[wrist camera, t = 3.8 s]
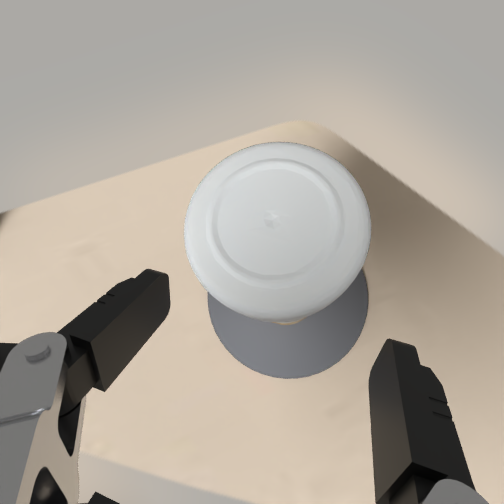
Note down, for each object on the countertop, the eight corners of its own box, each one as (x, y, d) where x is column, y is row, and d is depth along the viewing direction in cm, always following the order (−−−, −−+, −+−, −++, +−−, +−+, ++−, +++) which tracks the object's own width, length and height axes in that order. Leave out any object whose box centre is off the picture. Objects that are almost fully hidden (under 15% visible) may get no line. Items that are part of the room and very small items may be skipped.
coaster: (187, 348, 19) (186, 348, 19) (234, 205, 22) (233, 204, 22) (349, 402, 17) (349, 403, 17) (380, 238, 20) (381, 237, 19)
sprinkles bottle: (261, 253, 20) (210, 122, 7) (324, 269, 19) (392, 148, 6) (244, 316, 19) (150, 288, 6) (310, 335, 18) (356, 347, 5)
